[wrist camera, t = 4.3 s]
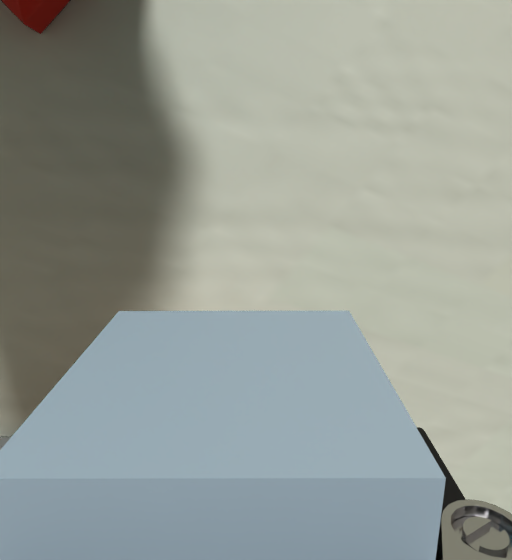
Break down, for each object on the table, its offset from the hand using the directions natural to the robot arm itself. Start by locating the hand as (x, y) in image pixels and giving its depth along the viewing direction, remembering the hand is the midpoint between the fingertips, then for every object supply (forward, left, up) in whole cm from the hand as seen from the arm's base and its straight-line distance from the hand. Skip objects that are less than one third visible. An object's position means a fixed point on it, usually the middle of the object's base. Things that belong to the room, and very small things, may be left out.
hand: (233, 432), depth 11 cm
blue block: (0, 0, -1) cm, 1 cm away
